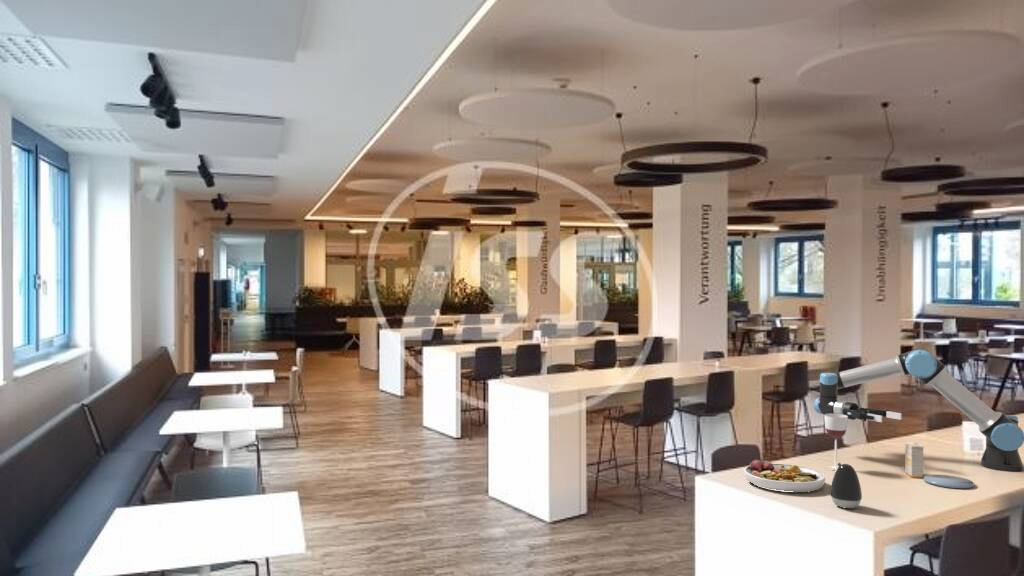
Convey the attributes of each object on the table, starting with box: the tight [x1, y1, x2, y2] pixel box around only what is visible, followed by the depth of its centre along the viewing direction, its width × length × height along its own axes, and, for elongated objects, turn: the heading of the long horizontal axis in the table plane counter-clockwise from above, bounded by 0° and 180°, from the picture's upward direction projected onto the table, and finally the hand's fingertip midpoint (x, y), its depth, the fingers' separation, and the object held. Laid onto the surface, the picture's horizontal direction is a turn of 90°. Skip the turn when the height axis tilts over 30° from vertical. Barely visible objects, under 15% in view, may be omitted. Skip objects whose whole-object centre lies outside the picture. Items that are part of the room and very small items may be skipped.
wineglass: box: [823, 414, 849, 469], centre depth 312 cm, size 9×10×23 cm
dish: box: [923, 474, 975, 489], centre depth 289 cm, size 17×17×1 cm
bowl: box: [743, 459, 826, 493], centre depth 287 cm, size 30×30×8 cm
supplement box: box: [904, 441, 924, 479], centre depth 301 cm, size 8×5×13 cm, turn 168°
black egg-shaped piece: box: [829, 462, 863, 509], centre depth 257 cm, size 10×10×15 cm
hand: (891, 417), depth 309 cm, fingers open, 13 cm apart
